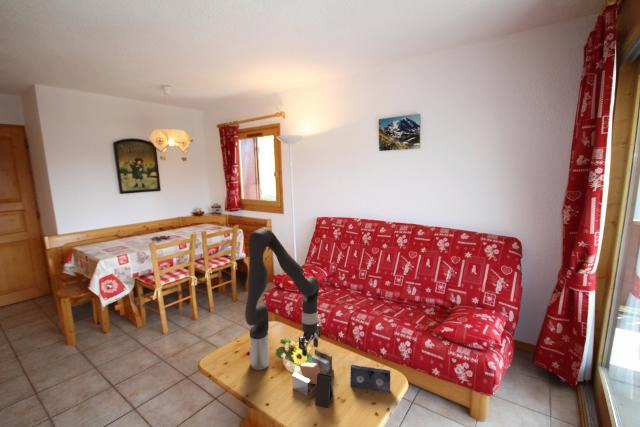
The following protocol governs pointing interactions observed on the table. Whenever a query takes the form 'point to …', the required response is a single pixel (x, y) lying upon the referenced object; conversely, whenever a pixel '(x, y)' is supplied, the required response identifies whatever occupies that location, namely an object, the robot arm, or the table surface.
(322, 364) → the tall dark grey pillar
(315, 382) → the book
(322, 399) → the door stopper
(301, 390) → the grey flat box
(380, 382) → the vhs cassette tape
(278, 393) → the table surface
